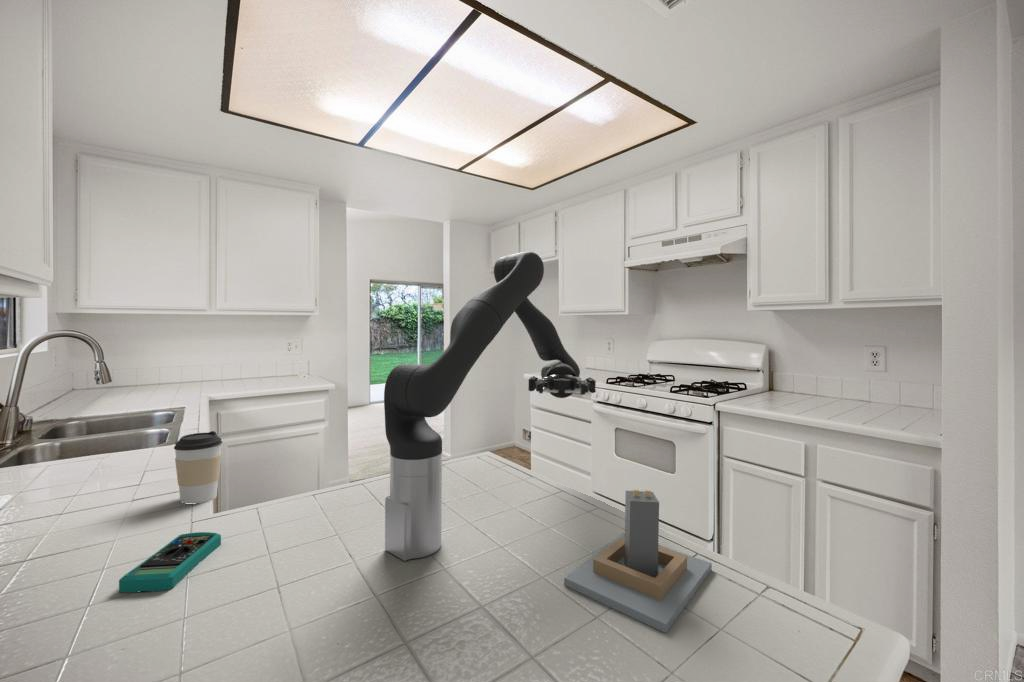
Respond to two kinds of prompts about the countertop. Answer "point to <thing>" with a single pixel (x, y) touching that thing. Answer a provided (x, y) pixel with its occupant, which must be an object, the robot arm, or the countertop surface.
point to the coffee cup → (198, 466)
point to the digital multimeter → (170, 563)
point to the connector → (641, 532)
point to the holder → (640, 583)
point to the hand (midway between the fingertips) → (562, 388)
